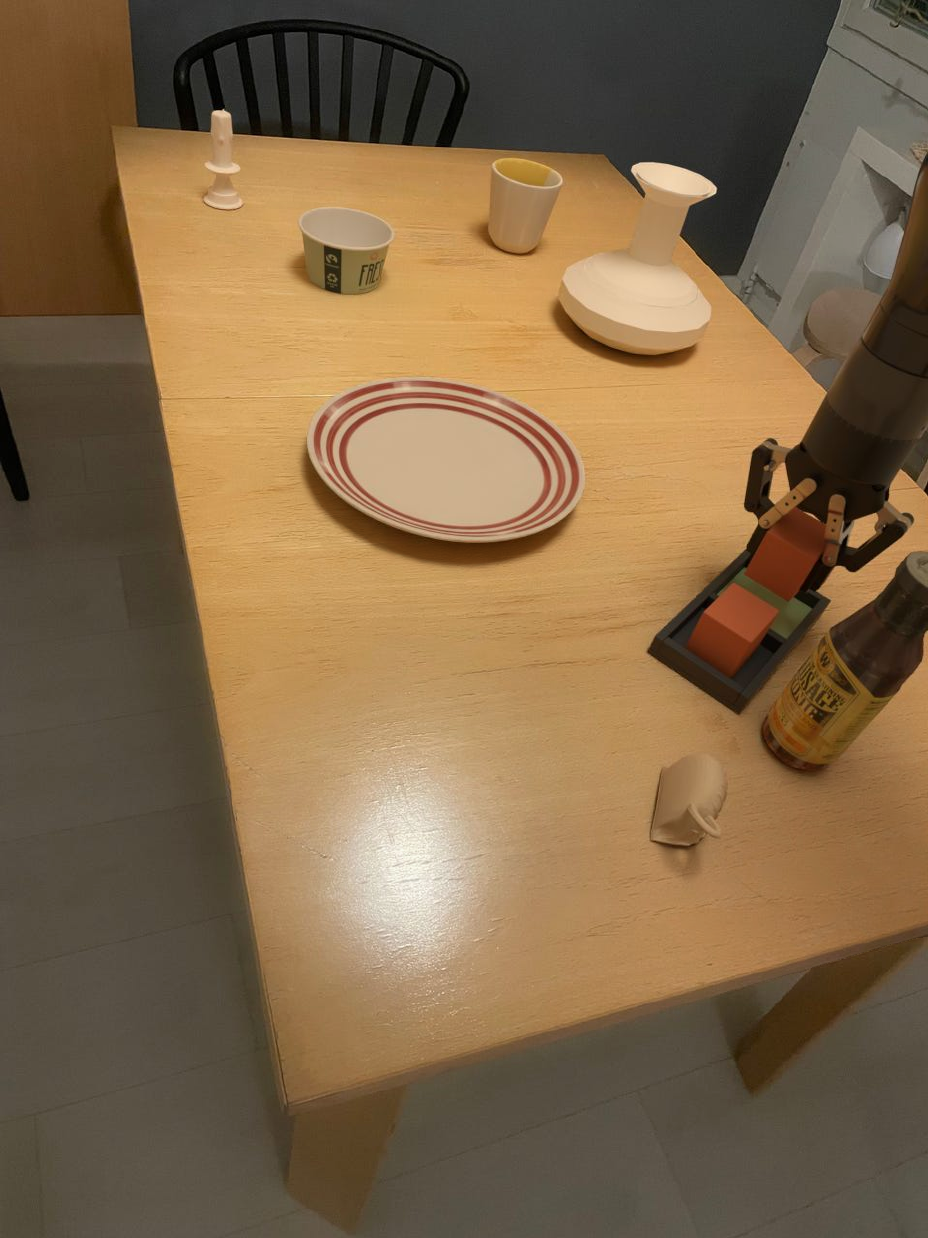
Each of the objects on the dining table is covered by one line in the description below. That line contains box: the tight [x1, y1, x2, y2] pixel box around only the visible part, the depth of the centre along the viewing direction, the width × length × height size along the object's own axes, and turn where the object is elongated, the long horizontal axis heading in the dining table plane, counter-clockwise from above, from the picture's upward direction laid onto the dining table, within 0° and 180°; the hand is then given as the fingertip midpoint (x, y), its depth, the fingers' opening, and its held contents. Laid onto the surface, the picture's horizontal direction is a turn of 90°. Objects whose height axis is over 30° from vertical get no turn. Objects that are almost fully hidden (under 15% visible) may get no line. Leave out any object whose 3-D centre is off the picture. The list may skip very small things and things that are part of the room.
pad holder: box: [647, 548, 832, 715], centre depth 78 cm, size 9×17×2 cm, turn 140°
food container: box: [297, 206, 396, 295], centre depth 111 cm, size 12×12×6 cm
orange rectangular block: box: [685, 583, 779, 679], centre depth 74 cm, size 4×6×5 cm
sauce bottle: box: [762, 550, 928, 772], centre depth 63 cm, size 7×6×20 cm
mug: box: [487, 157, 564, 255], centre depth 127 cm, size 14×10×10 cm
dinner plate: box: [306, 376, 586, 544], centre depth 86 cm, size 27×27×3 cm
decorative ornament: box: [650, 752, 729, 847], centre depth 62 cm, size 4×8×5 cm, turn 161°
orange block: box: [744, 507, 826, 602], centre depth 76 cm, size 4×6×5 cm
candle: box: [203, 108, 244, 211], centre depth 119 cm, size 5×5×12 cm
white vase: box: [557, 161, 718, 356], centre depth 110 cm, size 20×20×19 cm
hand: (780, 571), depth 78 cm, fingers closed on orange block, 4 cm apart
